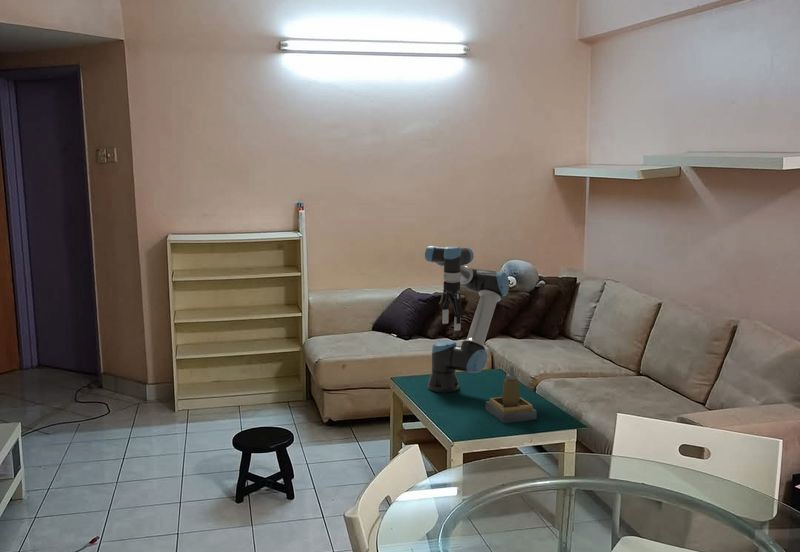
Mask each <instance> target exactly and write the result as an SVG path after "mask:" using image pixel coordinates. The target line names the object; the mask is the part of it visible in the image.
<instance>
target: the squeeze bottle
mask: <svg viewBox="0 0 800 552" xmlns="http://www.w3.org/2000/svg"><path fill="white" fill-rule="evenodd" d="M505 377H506V378H504V379H503V385H502V392H501V397H502V400H503V404H504V406H505V407H513V406H517V405H518V403H519V400H520V397H521V395H520V393H521V392H520V382H519V381H520V380H519V379H518V375H517V374H516V373H515V370H514V366H510V368H509V371H508V373H507V374H506V376H505Z"/></svg>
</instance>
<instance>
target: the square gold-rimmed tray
mask: <svg viewBox="0 0 800 552" xmlns="http://www.w3.org/2000/svg"><path fill="white" fill-rule="evenodd" d="M484 409H485V411H486V412H488V414H490V415H491V416H493V417H494V418H496V419H497V420H498V421H500V422H501V423H503V424H509V423H517V422H526V421H532V420H533V421H534V420H537V415H538V414H537V413H538V412H537V409H535V408H534V405H533V404H532V403H530V402H529V401H527V400H525V398H523V397H521V396H520V400H519V403H518V405H517V406H513V407H505V406H504V404H503V400H502V396H499V397H489V400H486V401H485V408H484Z"/></svg>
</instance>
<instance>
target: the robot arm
mask: <svg viewBox="0 0 800 552" xmlns="http://www.w3.org/2000/svg"><path fill="white" fill-rule="evenodd" d="M474 257H475V256H474V251H473V250H472V249H471V248H470V247H460V246H456V245H455V246H453V245H452V246H438V245H428V246H427V247H426V248H425V250H424V258H425V260H426V261H427V262H430V263H435V264H436V265H438V266H439V267H441V268H442V269H443V274H442V276H443V289H442V291H443V292H442V293H443V294H442V298H441V302H440V308H441V309H442V321H441V323H442V324H443V325H447V324H449V315H450V314H449V313H450V311H449V309H450V308H449V306H450V304H452V308H453V312H454V315H453V317H454V323H453V324H454V326H453V328H454V329H453V330H454V332H457V331H459V332H460V331H461V321H462V319H461V317H462V316H464V310H463V306H462V300H461V299H462V298H461V296H462V295H461V293H458V291H460V290H461V286H462V287H464V288H465V289H467V290H470V291H471V292H473V293H474V292H475V293H478V295H479V300H478V302H477V306H476V310H475V312H474V315H473V319H472V321H471V325H470V328H469V331H468V335H467V337H466V339H464V340H462V342H461V345H457V342H456V341H455V340H442V341H437V342H435V343H434V344H433V345H432V349H431V373H430V376H429V379H428V382H427V389H428V390H430V391H432V392H435V393H453V392H456V391H458V390H459V387H460V383H459V380H458V378H457V377H458V376H457V374H456V371H459V372H460V371H461V372H465V373H469V374H478V373H480V372H482V371H483V370H484V368H485V367H486V364H487V362H488V361H487V360H488V359H487V358H488V353H487V351H486V347H485V345H484V344H485V341H486V338H487V334H488V332H489V328H490V325H491V322H492V318H493V316H494V312H495V310H496V306H497V303H498V302H500V301H501V300H502V297H505V296H507V295H508V294H509V289H510V281H509V280H510V279H509V277H508V275H507V273H505V272H503V271H499V270H487V269H478V268H471V267H470V266H466V265H468V264H469V263H472V261H473V259H474Z"/></svg>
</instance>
